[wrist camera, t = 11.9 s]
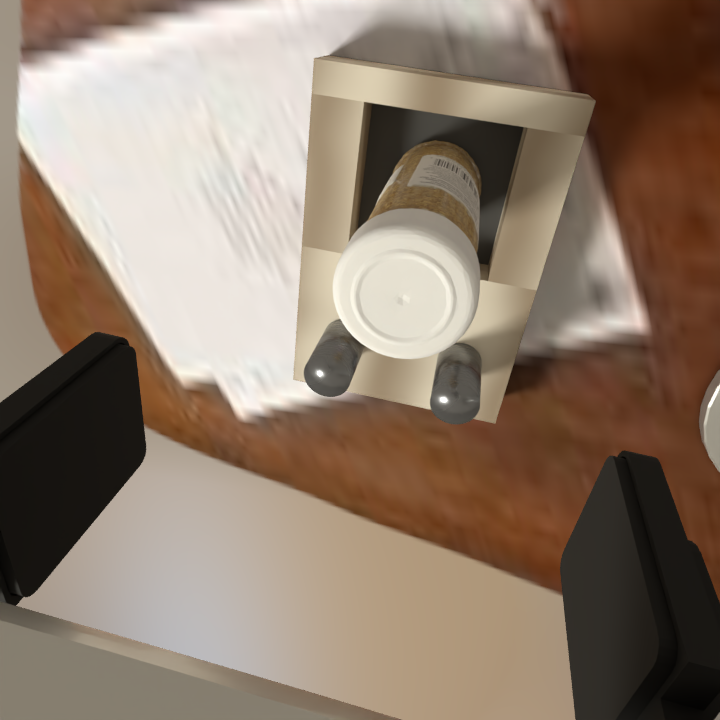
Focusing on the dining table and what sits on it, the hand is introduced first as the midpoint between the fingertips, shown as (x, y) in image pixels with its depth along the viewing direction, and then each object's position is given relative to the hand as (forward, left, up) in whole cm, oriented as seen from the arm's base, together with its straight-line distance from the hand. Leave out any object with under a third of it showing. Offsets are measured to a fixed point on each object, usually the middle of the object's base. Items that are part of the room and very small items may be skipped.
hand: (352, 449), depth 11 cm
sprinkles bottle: (0, 0, -21) cm, 21 cm away
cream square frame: (0, +3, -21) cm, 21 cm away
